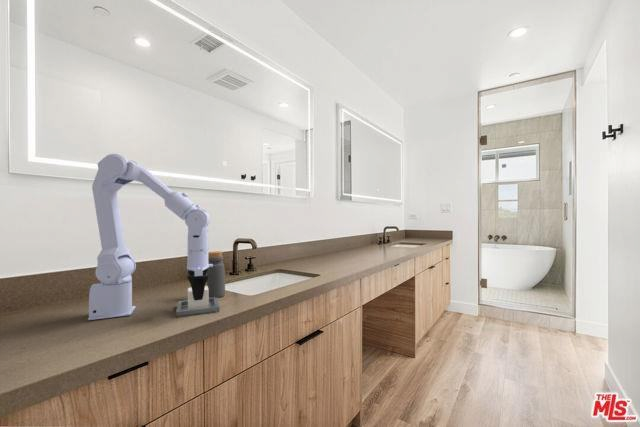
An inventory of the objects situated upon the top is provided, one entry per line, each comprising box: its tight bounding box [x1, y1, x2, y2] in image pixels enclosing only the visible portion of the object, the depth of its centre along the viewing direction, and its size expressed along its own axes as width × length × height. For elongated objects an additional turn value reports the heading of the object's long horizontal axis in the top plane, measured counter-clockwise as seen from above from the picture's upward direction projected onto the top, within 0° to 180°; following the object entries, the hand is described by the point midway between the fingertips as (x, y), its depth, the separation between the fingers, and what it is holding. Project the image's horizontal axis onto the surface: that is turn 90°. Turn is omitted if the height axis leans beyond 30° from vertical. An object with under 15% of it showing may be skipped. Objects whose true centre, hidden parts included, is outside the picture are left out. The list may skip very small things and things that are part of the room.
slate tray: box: [175, 297, 220, 318], centre depth 85 cm, size 11×11×1 cm
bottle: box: [206, 250, 226, 299], centre depth 99 cm, size 6×6×15 cm
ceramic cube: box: [187, 285, 209, 310], centre depth 85 cm, size 6×6×6 cm
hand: (197, 296), depth 85 cm, fingers open, 7 cm apart
